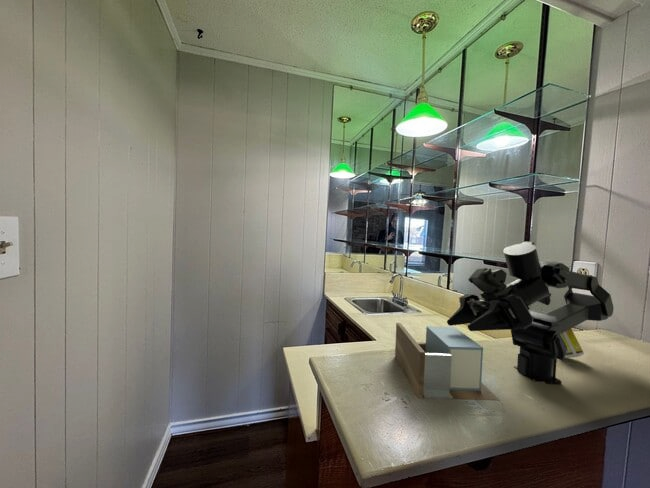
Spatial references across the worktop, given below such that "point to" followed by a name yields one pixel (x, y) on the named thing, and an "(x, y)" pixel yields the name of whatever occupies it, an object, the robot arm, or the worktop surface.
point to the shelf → (414, 365)
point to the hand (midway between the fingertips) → (457, 325)
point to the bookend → (437, 375)
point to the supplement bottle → (571, 344)
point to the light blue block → (457, 356)
